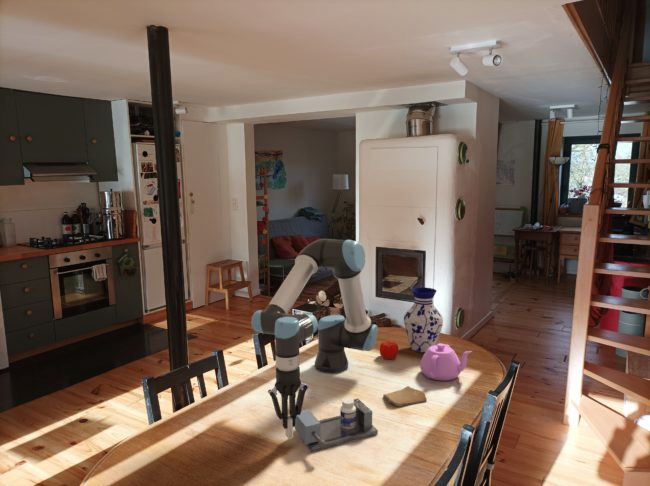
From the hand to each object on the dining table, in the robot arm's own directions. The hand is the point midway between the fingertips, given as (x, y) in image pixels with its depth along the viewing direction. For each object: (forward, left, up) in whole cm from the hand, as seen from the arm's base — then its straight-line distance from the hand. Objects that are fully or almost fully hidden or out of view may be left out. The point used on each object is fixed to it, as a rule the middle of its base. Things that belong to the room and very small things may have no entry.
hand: (289, 436), depth 151 cm
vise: (0, +17, -3) cm, 17 cm away
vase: (-50, +89, -3) cm, 102 cm away
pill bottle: (0, +21, -2) cm, 21 cm away
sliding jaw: (+4, +6, -1) cm, 8 cm away
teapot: (-20, +79, -3) cm, 81 cm away
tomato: (-48, +68, -3) cm, 83 cm away
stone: (-10, +51, -3) cm, 52 cm away
